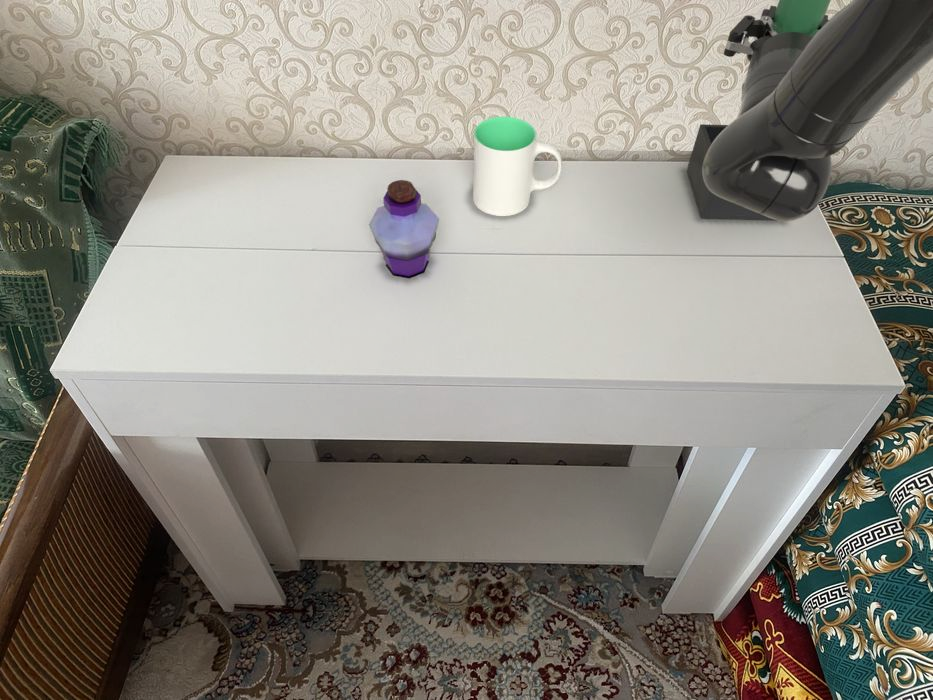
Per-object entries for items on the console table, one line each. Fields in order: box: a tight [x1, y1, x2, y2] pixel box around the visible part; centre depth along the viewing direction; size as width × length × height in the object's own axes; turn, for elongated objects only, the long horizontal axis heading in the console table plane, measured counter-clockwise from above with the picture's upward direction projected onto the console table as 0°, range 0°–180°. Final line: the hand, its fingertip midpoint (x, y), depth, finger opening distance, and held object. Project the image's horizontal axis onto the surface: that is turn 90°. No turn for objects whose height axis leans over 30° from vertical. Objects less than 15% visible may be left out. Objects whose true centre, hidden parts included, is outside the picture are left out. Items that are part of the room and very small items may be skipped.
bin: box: [686, 123, 779, 222], centre depth 95 cm, size 11×11×8 cm
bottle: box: [773, 0, 832, 35], centre depth 81 cm, size 5×5×23 cm
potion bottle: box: [368, 179, 440, 280], centre depth 84 cm, size 9×9×12 cm
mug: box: [472, 116, 563, 217], centre depth 94 cm, size 12×8×10 cm, turn 91°
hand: (795, 18), depth 82 cm, fingers closed on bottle, 5 cm apart
